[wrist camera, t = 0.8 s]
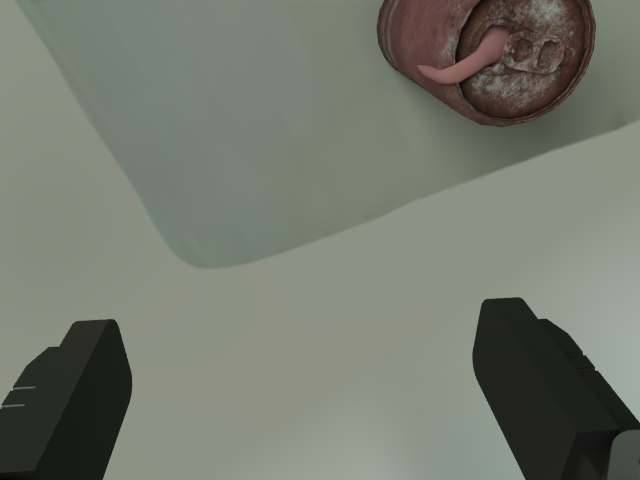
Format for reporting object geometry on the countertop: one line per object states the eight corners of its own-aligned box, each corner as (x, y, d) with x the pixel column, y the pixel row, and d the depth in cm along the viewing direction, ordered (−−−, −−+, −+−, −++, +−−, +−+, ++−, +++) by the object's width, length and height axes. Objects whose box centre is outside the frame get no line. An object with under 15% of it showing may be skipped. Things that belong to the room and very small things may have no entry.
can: (355, 4, 29) (414, 18, 17) (451, -51, 28) (588, -79, 16) (393, 94, 32) (469, 162, 20) (482, 46, 31) (619, 86, 19)
